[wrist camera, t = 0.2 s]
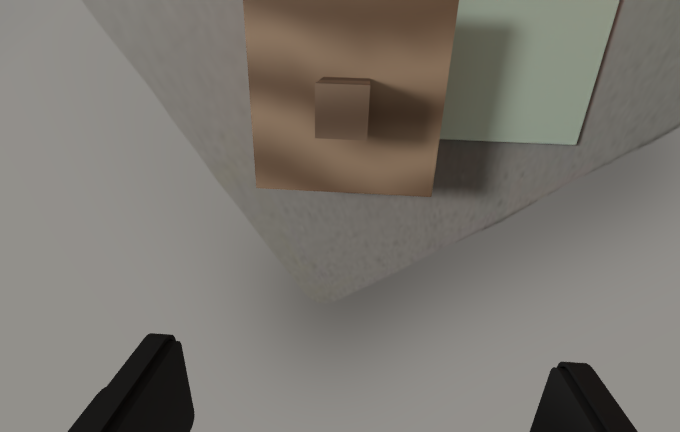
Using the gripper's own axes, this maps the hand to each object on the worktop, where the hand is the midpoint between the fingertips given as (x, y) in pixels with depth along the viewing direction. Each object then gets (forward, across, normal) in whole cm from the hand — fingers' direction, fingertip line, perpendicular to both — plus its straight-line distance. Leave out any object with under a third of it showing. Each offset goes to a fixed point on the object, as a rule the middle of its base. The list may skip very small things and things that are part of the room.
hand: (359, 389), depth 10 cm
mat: (+30, -13, -8) cm, 34 cm away
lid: (+24, +2, -4) cm, 25 cm away
